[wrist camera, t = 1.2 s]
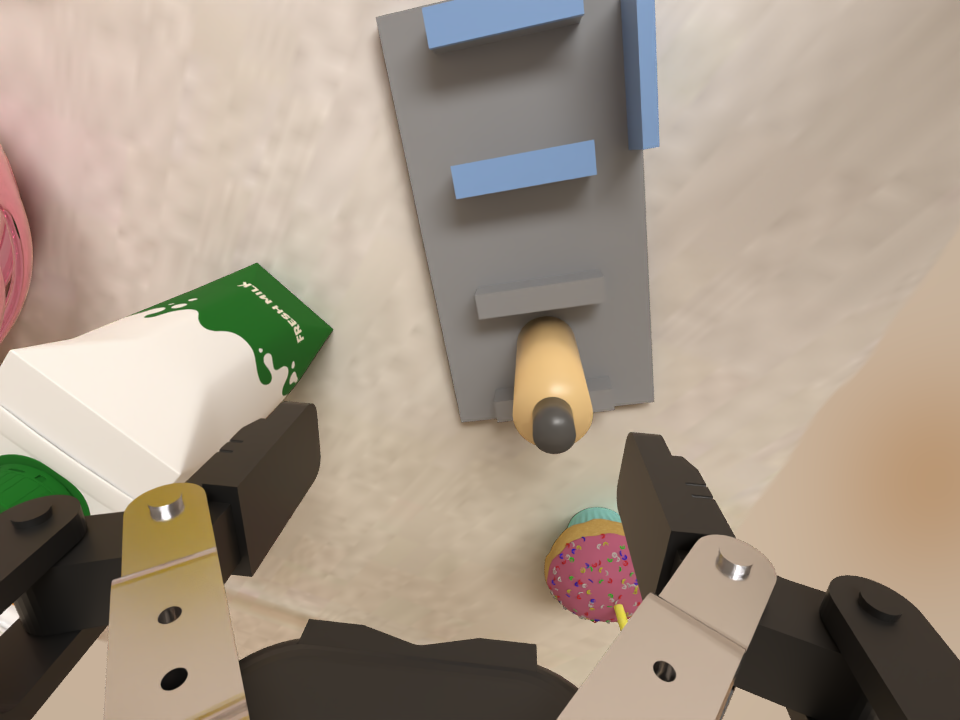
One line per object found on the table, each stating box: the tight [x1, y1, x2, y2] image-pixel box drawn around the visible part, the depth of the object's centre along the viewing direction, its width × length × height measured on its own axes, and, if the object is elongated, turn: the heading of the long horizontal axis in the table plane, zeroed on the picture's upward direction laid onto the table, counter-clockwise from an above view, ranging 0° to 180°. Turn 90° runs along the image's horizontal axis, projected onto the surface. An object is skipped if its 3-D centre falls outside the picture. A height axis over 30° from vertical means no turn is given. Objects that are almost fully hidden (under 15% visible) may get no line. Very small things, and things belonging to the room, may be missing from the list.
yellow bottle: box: [513, 316, 593, 454], centre depth 28 cm, size 4×4×12 cm
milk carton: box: [0, 263, 333, 516], centre depth 27 cm, size 9×9×20 cm
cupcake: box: [544, 507, 643, 630], centre depth 35 cm, size 9×8×12 cm
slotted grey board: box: [376, 0, 659, 422], centre depth 30 cm, size 14×26×5 cm, turn 10°
